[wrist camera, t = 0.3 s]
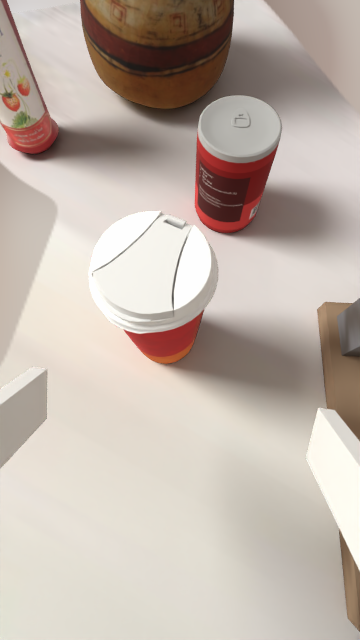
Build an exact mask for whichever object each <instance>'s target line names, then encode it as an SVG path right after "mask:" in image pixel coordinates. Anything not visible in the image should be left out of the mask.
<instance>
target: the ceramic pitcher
mask: <svg viewBox="0 0 360 640" xmlns="http://www.w3.org/2000/svg"><path fill="white" fill-rule="evenodd" d="M80 4H81V19H82V27H83V32H84V37H85V41H86V44H87V48H88V51H89V54H90V57H91V60H92V62H93V65H94V67H95V69H96V71H97V73H98V75H99V77H100V78H101V79H102V81H103V82H104V83H105V84H106V85H107V86H108V87H109V88H110V89H112V90H113V91H114V92H116V93H117V94H119V95H120V96H122V97H124V98H126V99H128V100H130V101H132V102H135V103H138V104H142V105H145V106H148V107H153V108H166V109H169V108H178V107H181V106H185V105H187V104H190V103H192V102H194V101H196V100H197V99H199V98H200V97H202V96H203V95H205V94H206V93H207V92H208V91H209V90H210V89H211V88H212V87H213V86H214V84H215V83H216V82H217V81H218V79H219V77H220V75H221V73H222V71H223V68H224V66H225V63H226V60H227V56H228V52H229V48H230V42H231V37H232V26H233V16H234V0H80Z"/></svg>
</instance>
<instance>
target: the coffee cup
mask: <svg viewBox="0 0 360 640" xmlns="http://www.w3.org/2000/svg"><path fill="white" fill-rule="evenodd" d="M217 282H218V264H217V259H216V256H215V253H214V251H213V249H212V247H211V246H210V244H209V243H208V242H207V240H206V238H205V236H204V235H203V234H202V232H201V231H200V230H199V229H198V228H197V227H196V226H195V225H194V226H193V227H192V226H191V225H189V224H187V223H186V221H185V220H182V219H180V218H177V217H175V216H172V215H168V216H167V215H164V214H162V212H161V211H144V212H139V213H135V214H132V215H129V216H127V217H125V218H123V219H121V220H119V221H117V222H116V223H114V224H113V225H112V226H111V227H109V228H108V229H107V230H106V231H105V232H104V234H103V235H102V236H101V237H100V239H99V241H98V242H97V244H96V246H95V249H94V251H93V254H92V259H91V264H90V269H89V285H90V290H91V293H92V296H93V299H94V300H95V302H96V304H97V306H98V307H99V308H100V309H101V311H102V312H103V313H104V314H105V316H106V317H107V318H108V320H109V321H110V322H111V323H112V324H114V325H116V326H117V327H119V328H121V329H123V330H124V331H125V332H126V334H127V335H128V336H129V337H130V339H131V340H132V341H133V342H134V343H135V345H136V346H137V347H138V348H139V349H140V351H141V352H142V353H143V354H144V355H145V356H146V357H148V358H149V359H151V360H152V361H155V362H158V363H165V364H166V363H173V362H176V361H178V360H180V359H182V358H183V357H185V356H186V355H187V354H188V352H189V351H190V350H191V348H192V346H193V343H194V341H195V338H196V335H197V332H198V329H199V325H200V322H201V319H202V315H203V312H204V309H205V307H206V306H207V305H208V303H209V302H210V300H211V299H212V297H213V294H214V292H215V290H216V286H217Z"/></svg>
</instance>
